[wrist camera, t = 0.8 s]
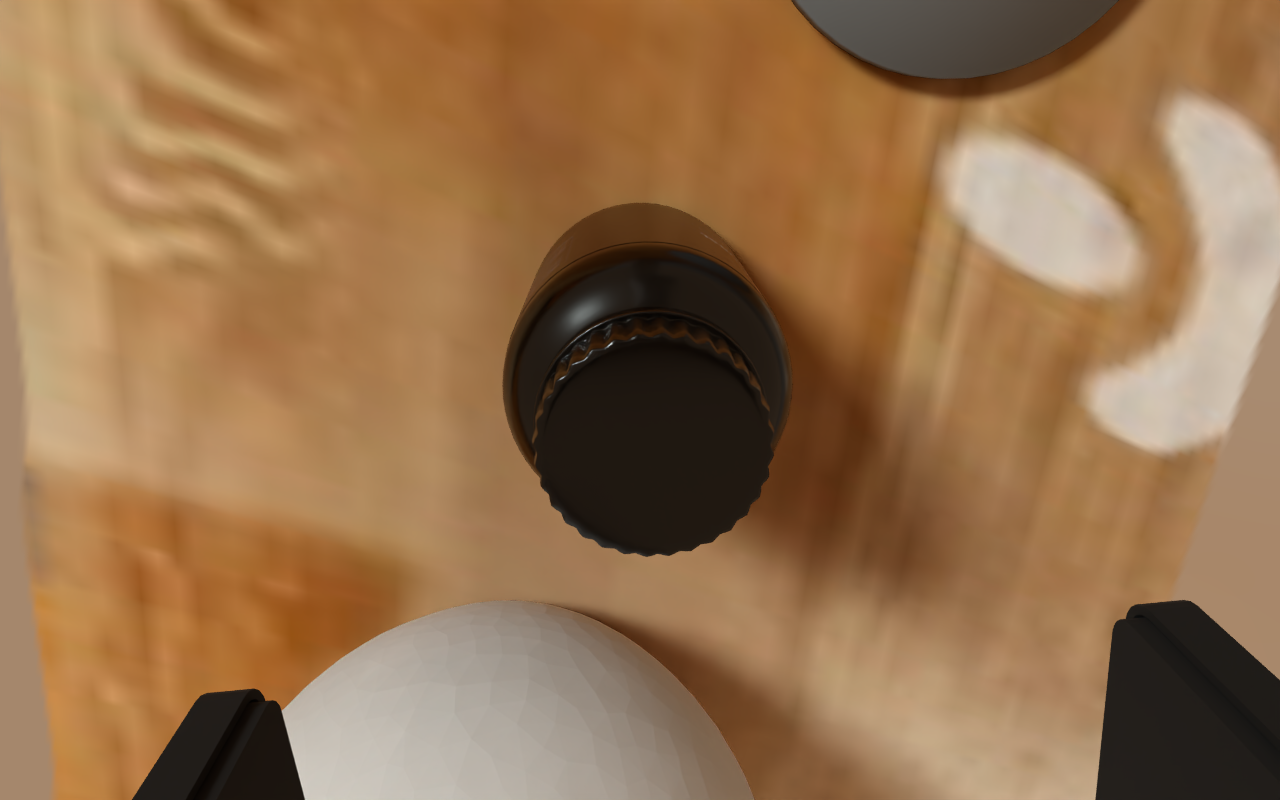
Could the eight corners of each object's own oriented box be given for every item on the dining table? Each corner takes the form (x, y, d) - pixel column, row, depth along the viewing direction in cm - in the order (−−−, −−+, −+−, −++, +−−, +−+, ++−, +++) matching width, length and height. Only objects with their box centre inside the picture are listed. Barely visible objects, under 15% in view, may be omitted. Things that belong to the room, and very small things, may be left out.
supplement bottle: (776, 235, 29) (888, 344, 17) (705, 431, 31) (763, 641, 20) (563, 167, 28) (534, 235, 16) (504, 374, 30) (444, 560, 19)
